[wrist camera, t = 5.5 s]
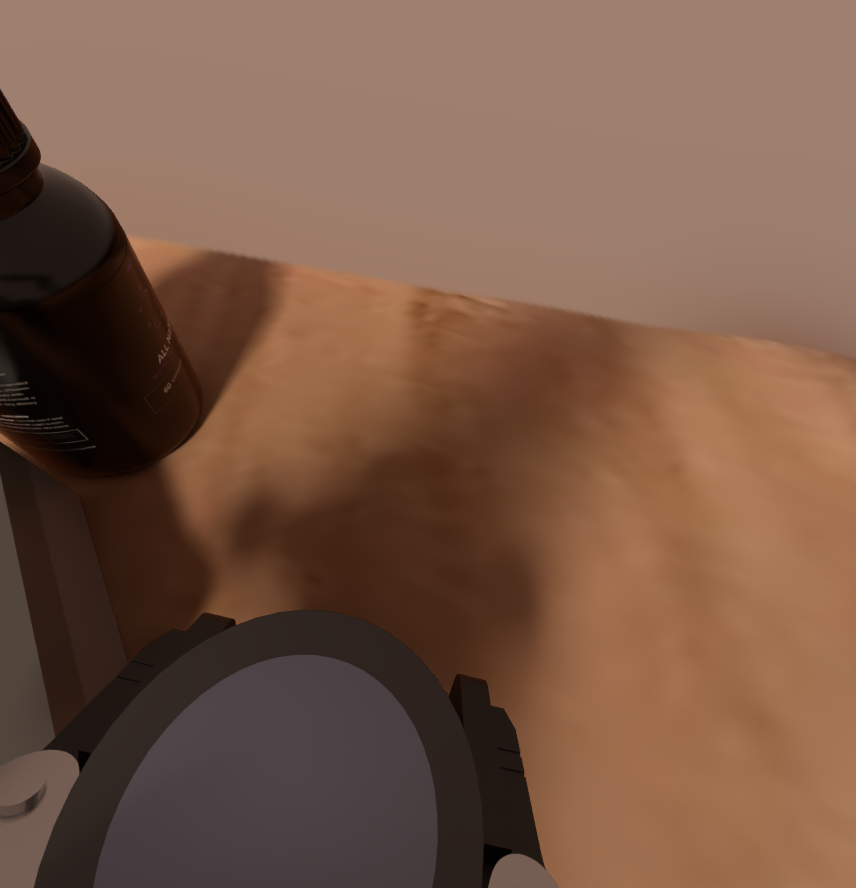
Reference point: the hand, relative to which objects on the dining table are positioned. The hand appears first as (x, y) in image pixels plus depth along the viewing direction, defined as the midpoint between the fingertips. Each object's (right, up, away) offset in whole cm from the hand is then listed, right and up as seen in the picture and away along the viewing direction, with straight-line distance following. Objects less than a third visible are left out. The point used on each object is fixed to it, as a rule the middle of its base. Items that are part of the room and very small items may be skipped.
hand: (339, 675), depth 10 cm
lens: (-1, -4, +3) cm, 5 cm away
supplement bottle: (-12, +7, +8) cm, 16 cm away
